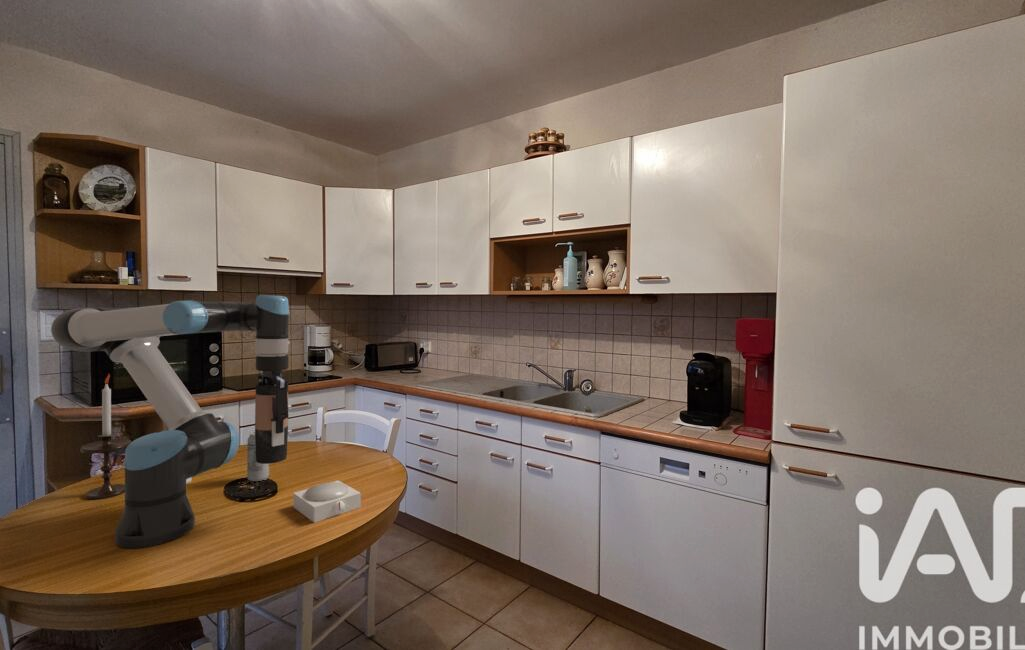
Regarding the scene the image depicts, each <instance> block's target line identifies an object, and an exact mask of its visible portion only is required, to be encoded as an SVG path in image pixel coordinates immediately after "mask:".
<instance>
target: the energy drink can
mask: <svg viewBox="0 0 1025 650" xmlns="http://www.w3.org/2000/svg"><path fill="white" fill-rule="evenodd" d="M246 446H247V449H246V450H247V456H246V457H247V461H246V463H247V468H246V469H247V470H246V473H247V475H246V476H247V479H246V480H248V481H249V480H250V481H262V480H265V481H266V480H268V477H269V476H270V464H261V463H257V462H256V447H255V431H252V432H249V436H248V438H247V445H246ZM250 481H249V482H250ZM262 482H263V481H262Z"/></svg>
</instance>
